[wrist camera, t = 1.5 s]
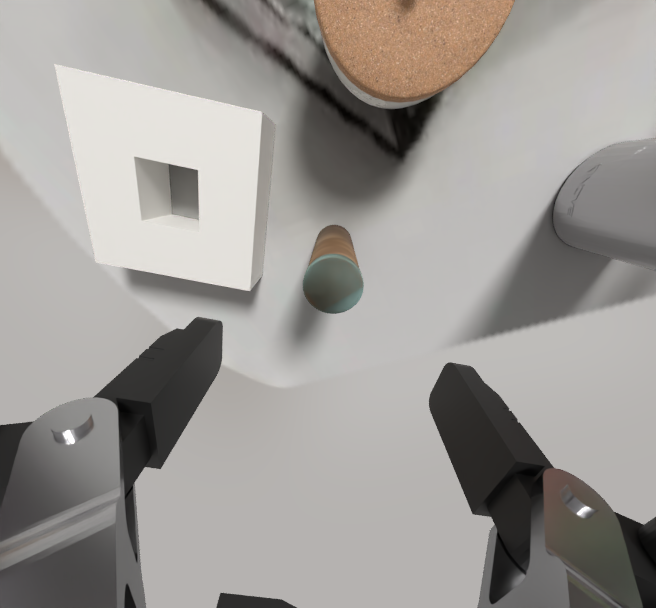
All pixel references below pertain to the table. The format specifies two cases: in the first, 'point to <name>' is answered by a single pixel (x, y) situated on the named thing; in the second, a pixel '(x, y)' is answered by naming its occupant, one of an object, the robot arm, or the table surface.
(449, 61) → the lidded jar
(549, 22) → the table surface
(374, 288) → the table surface
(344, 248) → the walnut dowel
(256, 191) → the socket block
